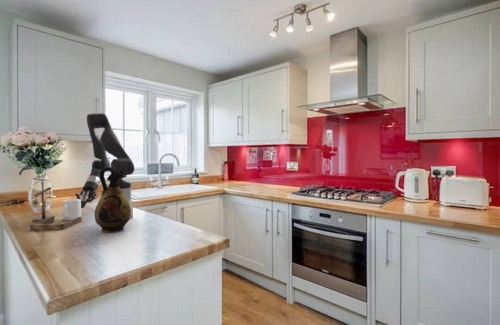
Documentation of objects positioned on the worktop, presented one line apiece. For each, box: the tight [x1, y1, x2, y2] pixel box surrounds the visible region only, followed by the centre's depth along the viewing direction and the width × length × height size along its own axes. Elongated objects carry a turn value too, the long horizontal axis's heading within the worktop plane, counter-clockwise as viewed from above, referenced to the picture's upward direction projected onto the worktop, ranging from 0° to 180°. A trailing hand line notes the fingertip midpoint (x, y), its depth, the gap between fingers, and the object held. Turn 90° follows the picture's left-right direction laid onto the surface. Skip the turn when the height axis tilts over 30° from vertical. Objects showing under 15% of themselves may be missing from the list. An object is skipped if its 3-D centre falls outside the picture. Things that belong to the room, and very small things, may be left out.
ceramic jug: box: [94, 166, 131, 234], centre depth 124 cm, size 17×15×30 cm
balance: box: [28, 186, 57, 223], centre depth 143 cm, size 6×16×17 cm, turn 3°
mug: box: [61, 198, 82, 221], centre depth 144 cm, size 12×8×10 cm
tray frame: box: [29, 216, 82, 231], centre depth 132 cm, size 15×15×2 cm
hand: (81, 207), depth 154 cm, fingers closed
